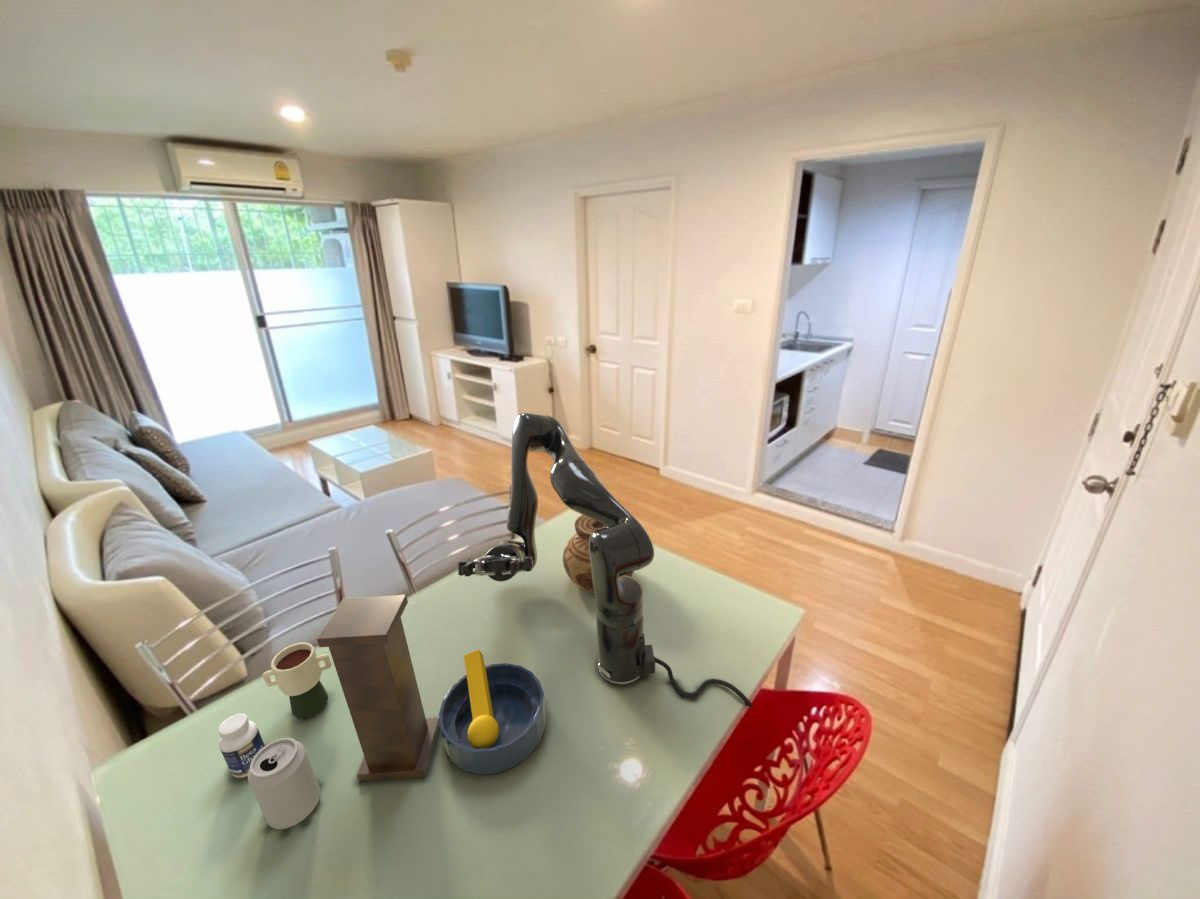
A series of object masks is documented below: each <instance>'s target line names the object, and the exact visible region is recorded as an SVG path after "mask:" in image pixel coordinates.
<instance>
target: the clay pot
mask: <svg viewBox="0 0 1200 899" xmlns="http://www.w3.org/2000/svg"><path fill="white" fill-rule="evenodd" d="M603 528H606V526H605V525H604V524H602V523H600V522H599V521H597V520H594V519H592V518H590V517H587V516H585V515H582V514H580V516H578V517H577V519H575V521H574V529H575V530H574V531H575V534H573V535H572V536H571V537H570V538H569V539H568V541H567V542H566V544H565V546H564V549H563V553H562V565H563V568H564V570H565V573H566V575H567V577H568V578H569V579H570V580H571V582H572V583H573V584H574V585H575V586H577V587H578V588H580V589H581V590H583V591H585V592H589V593H592V594H595V592H594V587H593V581H592V570H591V562H590V554H589V539H590V536H591V534H592V533H593V532H594V531H596V530H599V529H603ZM626 575H627V576H630V577H632V576H633V575H634V572H631V573H628V574H626Z"/></svg>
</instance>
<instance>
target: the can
mask: <svg viewBox="0 0 1200 899" xmlns="http://www.w3.org/2000/svg"><path fill="white" fill-rule="evenodd" d="M247 781H248V785H249V786H250V788H251V791H252V793H253V794H254V797H255V799H256V802H257V803H258V805H259V808H260V810H261V812H262V814H263V816H264V818H265V820H266V823H267V824H268V825H269V826H270V828H272V829H275V830H286V829H288V828H291V827H294V826H296V825H298V824H299V823H301V822H303V821H304V820H305V819H306V818H307V817H309V815H310V814H311V813H312V812H313V811H314V809H315V808H316V807H317V805H318V803H319V802H320V801H319V800H320V799H321V791H322V789H321V787H320V784H319V782H318V779H317V776H316V774H315V771H314V768H313V766H312V764H311V761H310V758H309V755H308V752H307V751H306V748H305V746H304V744H303V743H301V741H298V740H296V739H294V738H291V737H282V738H279V739H276V740H273V741H271V742H269V743H268V744H265V747H263V748H262V749H261V750H260V751H259V752H258V753H257V754H256V755H255V756H254V758H253V760H252V762H251V765H250V770H249V774H248V776H247Z"/></svg>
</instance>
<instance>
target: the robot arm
mask: <svg viewBox="0 0 1200 899" xmlns="http://www.w3.org/2000/svg"><path fill="white" fill-rule="evenodd" d="M529 452H536V453H545V454H547V455H548V456H549V457H550V459H552V461H553V462H552V464H551V468H550V473H549V479H550V480H549V481H550V484H551V486H552V488H553V490H554V491H555V494H556V495H557V496H558V497H559V499H560V500H561V502H562V503H563V504H564V505H565V506H566V507H567V508H569V509H570V510H572V511H574V512H576V513H577V514H580V515H585V516H587V517H590V518H592V519H594V520H597V521H599V522H600V523H602V524H604V525H605V526H606V528H603V529H599V530H596V531H594V532H593V533H592V534H591V536H590V539H589V554H590V562H591V570H592V581H593V587H594V592H595V593H594V597H595V598H594V599H595V613H596V630H597V632H596V634H597V652H598V664H597V669H598V671H599V674H600V676H601V677H602V678H603V679H604V680H605V681H606V682H608V683H610V684H611V685H616V686H627V685H631V684H633V683H635V682H637V681H638V680H639V679H641V678H645V677H646V675H647V674H650V675H651V674H656V664H657V665H660V666H661V667H663V668H664V670H666V673H667V675H668V679H669V681H670V683H671V684H672V686H673V688H674V690H675V691H676V692H677V693H678V695H680V696H682V697H685V698H688V699H690V698H691V699H694V698H696V697H698V696H699V695H701V694H702V692H703V691H704V690H705V689H706V687H707V686H709V685H720V686H724V687H726V688H728V689H730V690H731V691H732V692H734V693H735V695H737V696H738V697H739V698H740V700H742V701H743V702H744V703H745V705H746V706H747V707H748V708H754V704H753V703H752V702H751V700H749V698H748V697H747V696H746V695H745V694H744V693H743V692H742V691H741V690H740V689H738V687H737V686H734V685H733V684H732V683H730V682H728V681H725V680H722V679H718V678H717V679H716V678H709V679H706V680H704V682H701V684H700V686H699V687H698V688H697V689H696V690H695V691H693V692H686V691H685V690H683V689H682V688H681V687H680V685H679V684H678V682H677V680H676V678H675V677H674V674H673V671H672V668H671V667H670V665H669V664H668V663H666V661H663V660H662V659H659V658H657V657H656V656H655V654H654V649H653V644H646V639H645V638H646V636H645V632H644V590H643V586H642V584H641V583H640V582H639V581H638V580H637V579H636V578H634V577H632V576H631V577H630V576H627V575H626V574H628V573H631V572H633V573H634V572H636V571H639V570H642V569H644V568H646V567H647V566H649V565H650V564H652V562H653V560H654V558H655V549H654V544H653V542H652V539H651V537H650V535H649V534H648V532H647V530H646V529H645V527H644V526H643V525H642V524H641V523H640V522H639V520H638V519H636V517H635V516H633V514H631V512H630V511H629V510H628V509H627V508H626V507H625V506H624V505H623V504H621V503H620V501H618V500H617V499H616V497H614V495H613V494H612V493H611V492H610V491H609V489H608V488H607V487H606V486H605V485H604V483H603V482H602V481H601V479H600V478H599V476H598V475H597V473H596V472H595V471H594V470H593V468H591V466H590V465H589V464H588V462H587V461H586V460H585V458H584V457H583V456H581V454H580V453H579V452H578V450H577V449H576V447H575V445H574V444H573V443H572V441H571V440H570V438H569V436H568V435H567V432H566V431H565V430H564V428H563V426H562V425H561V423H560V421H559V420H558V419H556V417H554V416H551V415H547V414H541V413H531V412H521V413H519V414H518V415H517V416H516V418H515V420H514V423H513V426H512V431H511V462H510V463H511V468H510V470H511V490H510V499H509V507H508V513H507V519H506V529H507V530H508V532H509V533H512V534H514V535H516V536H518V537H520V538H521V539H522V541H518V540H513V539H502V540H500V542H499V543H498V544H497V545H494V546H492V547H491V548H490V549H489V550H488V551H487V552H486V554H485V555H484V556H483V557H476V558H475V559H474V560H473V559H470V558H469V559H465V560H462V561H458V562H457V565H458V566H457V568H458V569H457V572H458V574H457V575H458V576H460V577H462V576H464V577H471V576H472V575H473V576H474V575H475V577H481V576H482V577H483V576H487V577H488V578H489V579H491V580H493V581H496V582H506V581H509V580H511V579H512V578H513V577H515V576H516V575H517V574H518V573H519V574H520V573H522V572H526V573H530V572H531V571H532V570H534V568H535V566H536V565H537V562H538V549H537V543H536V542H537V541H536V523H537V522H536V521H537V517H538V515H537V514H538V509H539V497H538V493H537V492H538V491H537V489H536V487H535V485H534V482H533V480H532V477H531V475H530V471H529V467H528V459H529V458H528V457H529Z"/></svg>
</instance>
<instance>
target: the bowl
mask: <svg viewBox="0 0 1200 899" xmlns="http://www.w3.org/2000/svg"><path fill="white" fill-rule="evenodd" d="M485 669H486V675H487V681H488V687H489V692H490V698H491V704H492V710H493V716H494V719H495V720H496V721H497V723H498V726H499V735H498V738H497V740H496V742H495V743H494V745H493V746H491V747H490V748H480V749H475V748H474V747H472V746H471V744H470V743H469V740H468V729H469V726H470V724H471V723H472V721H473V718H472V711H471V703H470V696H469V689H468V682H467V674H465V675H463V676H462V677H461V678H460V679H459V680H458V681H457V682H455V683H454V684H453V685H452V686H451V687H450V689H449V690H448V692H447V693H446V695H445V696H444V698H443V700H442V702H441V706H440V709H439V712H438V718H439V722H440V727H439V731H440V733H441V738H442V742H443V747H444V750H445V752H446V754H447V756H448V757H449V760H450V761H451V762H452V763H453V764H454V765H456V766H457V767H458V768H459V769H461V770H462V771H465V772H468V773H472V774H475V775H490V774H492V775H493V774H498V773H500V772H503V771H505V770H508V769H511V768H514V767H515V766H517V765H519V763H521V762H523V761H524V760H525V759H527V758H528V757H529V756H530V755H531V753H532V752H533V751H534V750H535V749H536V747H537V746H538V745H539V743H540V742H541V740H542V736H543V734H544V732H545V730H546V719H547V711H546V703H545V693H544V690H543V687H542V683H541V681H540V680H539V679H538V677H536V675H535V674H534V673H533V672H532V671H531V670H529V669H527V668H525V667H523V666H522V665H518V664H514V663H508V662H507V663H506V662H504V663H492V664H488V665H485Z"/></svg>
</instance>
